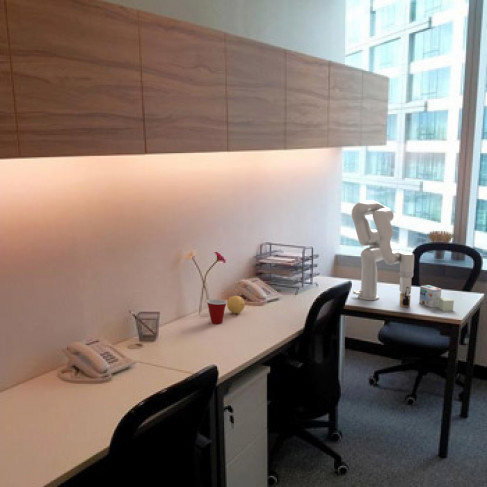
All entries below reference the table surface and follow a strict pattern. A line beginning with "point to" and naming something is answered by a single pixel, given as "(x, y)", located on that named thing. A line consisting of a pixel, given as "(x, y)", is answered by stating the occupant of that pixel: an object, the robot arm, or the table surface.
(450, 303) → the sage cube
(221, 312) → the plastic cup
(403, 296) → the oak block
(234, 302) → the stress ball
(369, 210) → the robot arm
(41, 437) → the table surface
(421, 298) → the light bulb box
